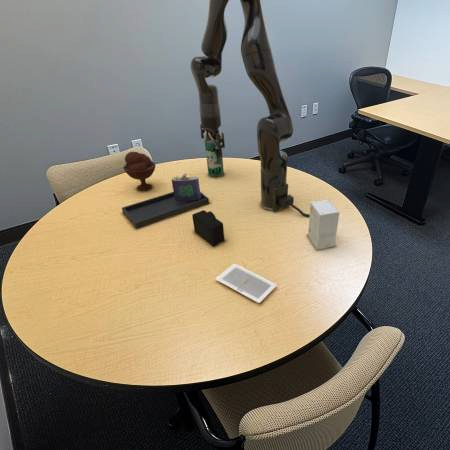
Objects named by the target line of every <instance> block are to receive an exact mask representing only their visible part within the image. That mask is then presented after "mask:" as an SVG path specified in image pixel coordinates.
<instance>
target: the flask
mask: <svg viewBox="0 0 450 450" xmlns="http://www.w3.org/2000/svg"><path fill="white" fill-rule="evenodd" d="M187 175H188V174H187V173H183V174H182V176H181V177H178V176H176V177H173V178H171V185H172V192H174V197H175V202H177V203H183V202H184V203H185V202H193V201H198V200H201V194H200V192H201V188H200V182H199V177H198V176H197V175H196V176H187Z"/></svg>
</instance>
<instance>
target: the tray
mask: <svg viewBox="0 0 450 450" xmlns="http://www.w3.org/2000/svg"><path fill="white" fill-rule="evenodd" d="M200 194H201V200H198V201H193V202H185V203H184V202H183V203H177V202H175V197H174V192H173V191H172V192H167V193H164V194H162V195H158V196H155V197H152V198H148V199H145V200H143V201H142V200H141V201H139V202H135V203H133V204H129V205H126V206H123V207H122V206H121V211H122V214H123V215H124V217H126V218H127V219H128V221H129V222H130V223H131V224H132V225H133V227H134V228H135V229H136V230H138V229H140V228H144V227H147V226H149V225H152V224H155V223H158V222H161V221H163V220H166V219H169V218H171V217H174V216H177V215H180V214H184V213H185V212H189V211H192V210H194V209H197V208H199V207H200V208H201V207H203V206H205V205H208V204H210V199H209V197H208V196H207V195H205V194H204V192H202V191H200Z"/></svg>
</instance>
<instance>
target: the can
mask: <svg viewBox="0 0 450 450" xmlns="http://www.w3.org/2000/svg"><path fill="white" fill-rule="evenodd" d="M215 141H216V140H215ZM217 146H218V143H217ZM205 148H206V149H205ZM204 149H205V156H206V165H207V175H208V177H209V178H213V179H215V178H216V179H217V178H218V179H219V178H221V177H224V176H225V175H224V174H225V173H224V172H225V169H224V160H223V158H224V157H223V156H222V157H219V158H218V157H217V156H216V147H215V145H214V144H213V143H212V140H211V139H206V140H205V142H204Z"/></svg>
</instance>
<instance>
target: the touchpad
mask: <svg viewBox="0 0 450 450" xmlns="http://www.w3.org/2000/svg"><path fill="white" fill-rule="evenodd" d="M214 280H216V281H218V282H219V283H221V284H223V285H225V286H227V287H229V288H231V289H232V290H234V291H236V292H238V293H240V294H241V295H243V296H245V297H247V298H249V299H250V300H253V301H254V302H256V303H258V304H260V303H261V302H262V301H263V300H264V299H265V298H267V296H269V294H270V293H271V292H272V291H273V290H274V289H275V288H276V287H277V286H278V284H276V283H274V282H272V281H271V280H268V279H267V278H264V277H262V276H260V275H259V274H256V273H255V272H252V271H251V270H249V269H247V268H246V267H245V268H244V267H243V266H241V265H239V264H237V263H235V262H234V263H232V264H231V265H230V266H229V267H227V268H226V269H225V270H224V271H223V272H222V273H220V274H219V275H217V276H216V277H215V278H214Z"/></svg>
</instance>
